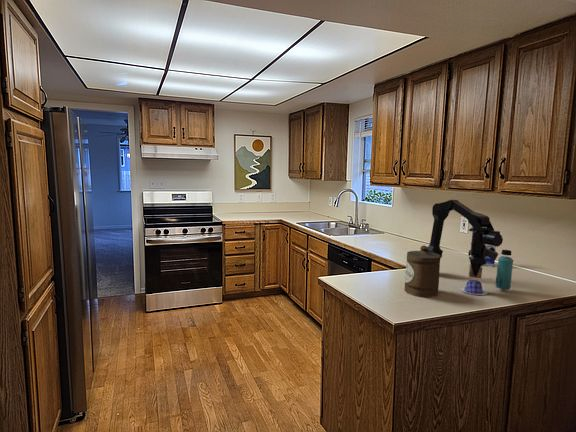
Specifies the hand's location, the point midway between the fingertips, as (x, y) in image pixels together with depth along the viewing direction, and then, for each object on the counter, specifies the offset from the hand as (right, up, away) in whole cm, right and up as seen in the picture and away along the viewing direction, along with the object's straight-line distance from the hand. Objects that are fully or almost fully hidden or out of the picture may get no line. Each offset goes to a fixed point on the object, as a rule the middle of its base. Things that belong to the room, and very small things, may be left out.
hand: (475, 274), depth 175 cm
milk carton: (+33, -3, +52) cm, 62 cm away
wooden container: (-26, -8, -2) cm, 28 cm away
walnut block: (0, -1, 0) cm, 1 cm away
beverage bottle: (+15, -9, +3) cm, 18 cm away
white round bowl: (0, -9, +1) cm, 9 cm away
